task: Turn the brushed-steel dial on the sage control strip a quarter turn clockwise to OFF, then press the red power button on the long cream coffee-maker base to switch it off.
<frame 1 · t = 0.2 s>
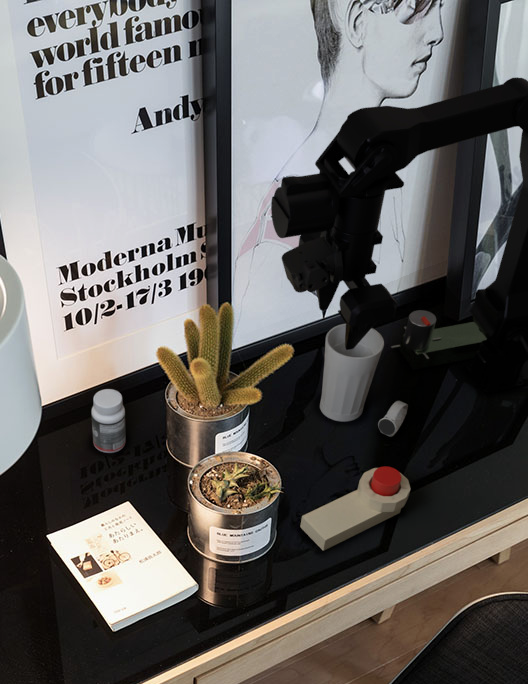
hand: (336, 328, 129), 15 cm above the table, tool pointing down, fingers open, 9 cm apart
coffee base: (350, 520, 127), on the table
power button: (385, 481, 125), point 5 cm above the table, slide at 0.1 cm
dial panel: (441, 353, 148), on the table
dial: (419, 329, 143), point 5 cm above the table, hinge at 90.0°
pill bottle: (109, 443, 137), on the table
cup: (341, 408, 141), on the table
grey short cylinder: (391, 433, 137), on the table
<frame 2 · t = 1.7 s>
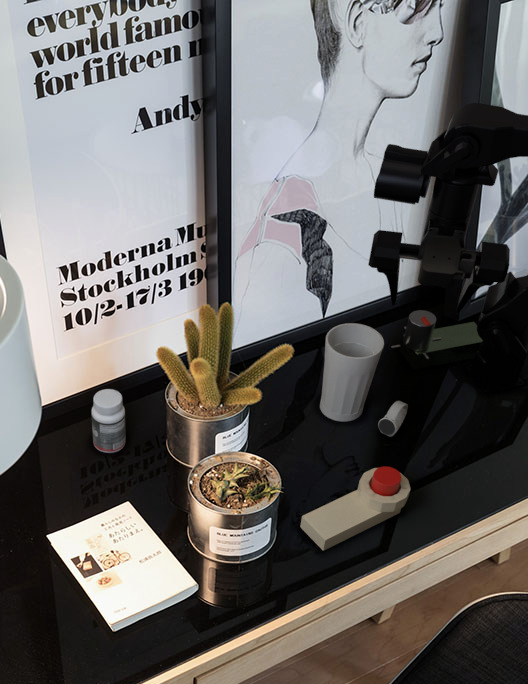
hand: (425, 307, 140), 10 cm above the table, tool pointing down, fingers open, 9 cm apart
nothing on the table moved.
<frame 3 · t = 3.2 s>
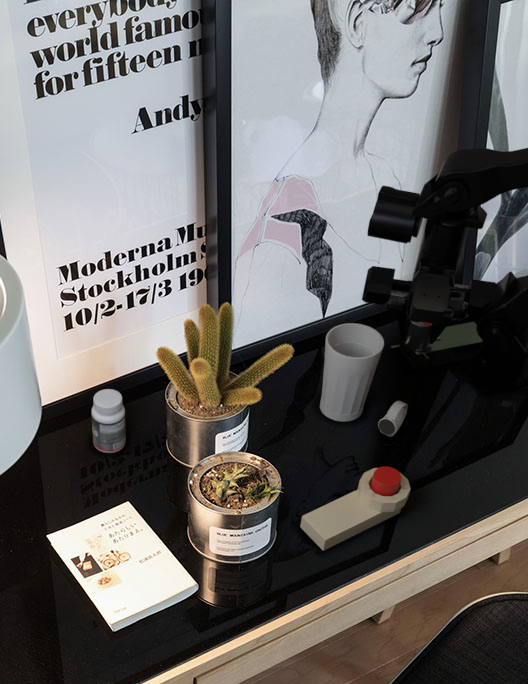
hand: (416, 340, 145), 4 cm above the table, tool pointing down, fingers closed on dial, 4 cm apart
dial: (419, 329, 143), point 5 cm above the table, hinge at 90.0°, touching gripper
everything else where it was.
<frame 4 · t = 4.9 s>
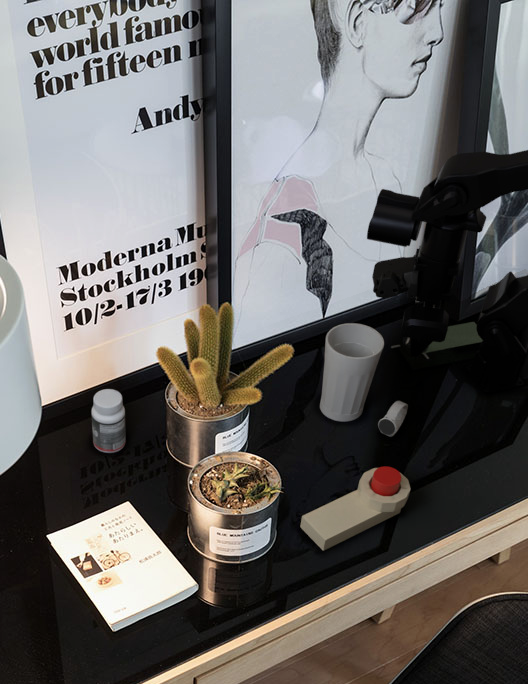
hand: (416, 343, 145), 3 cm above the table, tool pointing down, fingers open, 6 cm apart
dial: (419, 329, 143), point 5 cm above the table, hinge at 0.2°
everything else where it was.
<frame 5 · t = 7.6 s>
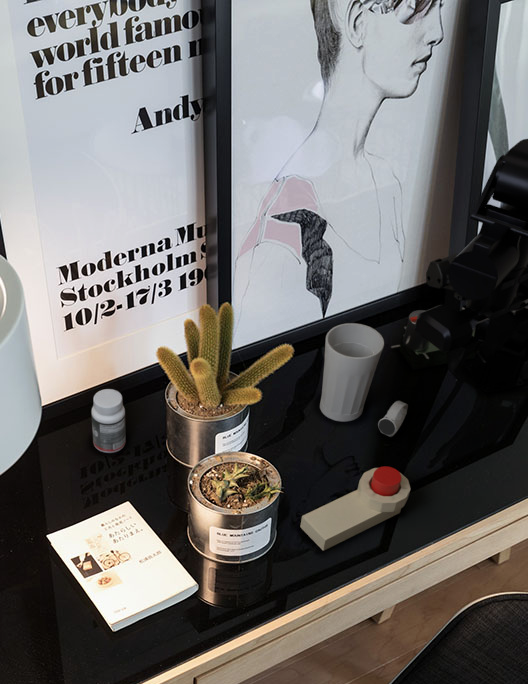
hand: (468, 363, 126), 13 cm above the table, tool pointing down, fingers open, 6 cm apart
nothing on the table moved.
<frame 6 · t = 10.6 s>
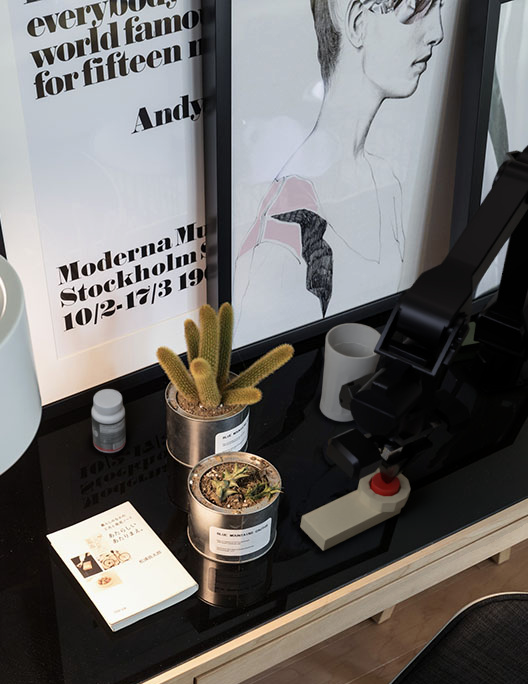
hand: (386, 480, 125), 5 cm above the table, tool pointing down, fingers closed, pressing on power button
power button: (384, 486, 125), point 4 cm above the table, slide at -0.8 cm, touching gripper
everything else where it was.
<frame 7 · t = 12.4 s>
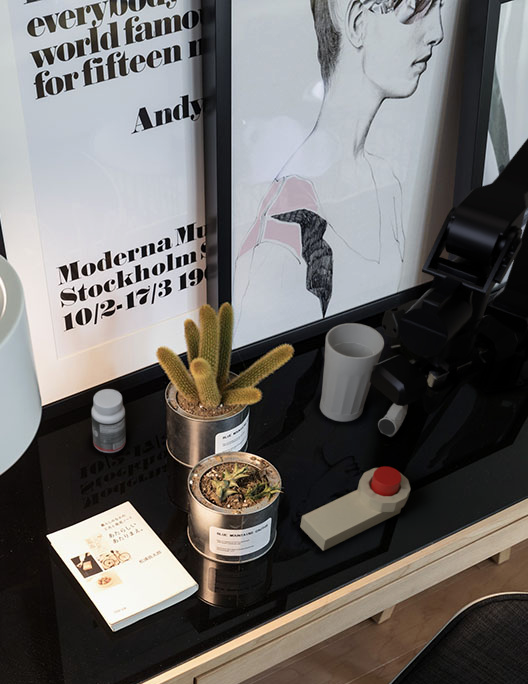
hand: (429, 411, 122), 12 cm above the table, tool pointing down, fingers closed
power button: (385, 481, 125), point 5 cm above the table, slide at 0.1 cm
everything else where it was.
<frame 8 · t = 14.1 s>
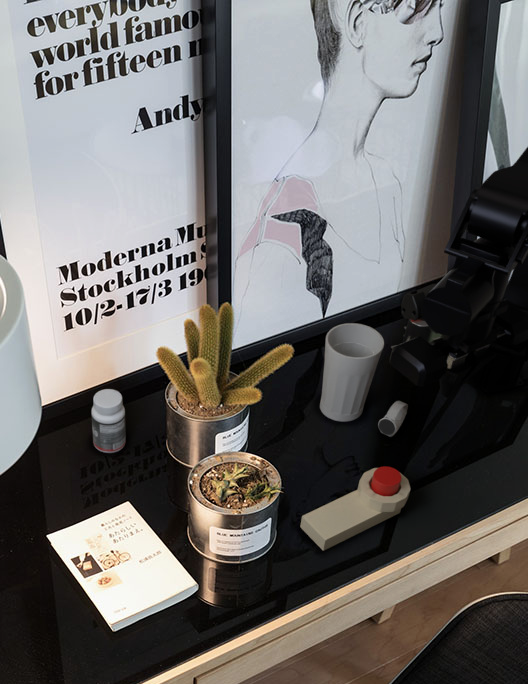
hand: (446, 395, 124), 12 cm above the table, tool pointing down, fingers closed
nothing on the table moved.
at the end: dial at +0° (first picture: +90°); power button pushed in 1.1 cm at the most during the clip, back to where it started at the end; power button slide at 0.1 cm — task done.
